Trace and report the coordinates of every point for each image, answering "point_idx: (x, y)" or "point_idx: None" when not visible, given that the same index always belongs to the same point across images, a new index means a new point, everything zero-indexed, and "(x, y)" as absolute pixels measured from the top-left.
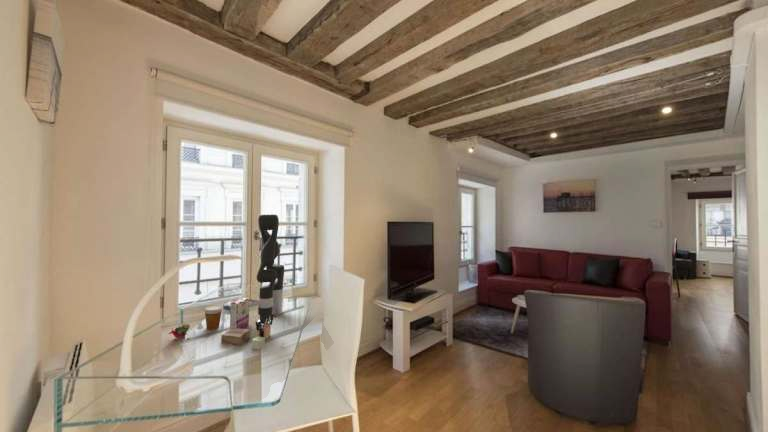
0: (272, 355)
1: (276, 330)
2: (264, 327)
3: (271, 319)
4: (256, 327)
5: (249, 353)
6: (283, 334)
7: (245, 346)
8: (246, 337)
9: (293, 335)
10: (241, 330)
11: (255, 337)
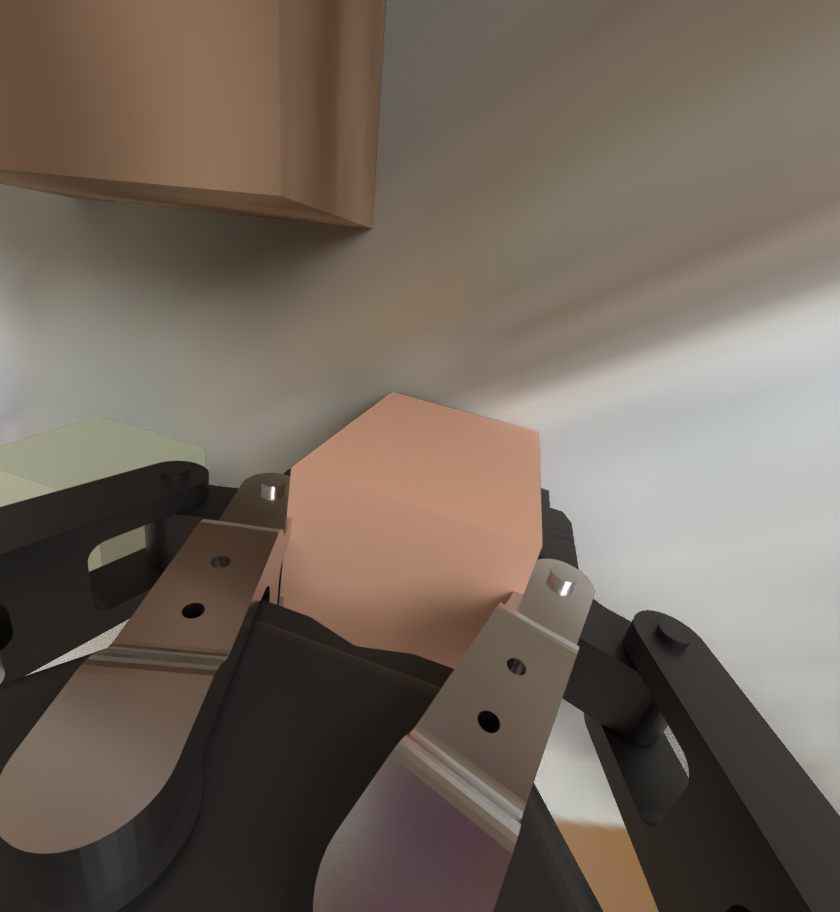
0: (82, 652)
1: (764, 604)
2: (313, 611)
3: (655, 878)
4: (51, 499)
5: (8, 442)
6: (576, 709)
7: (103, 313)
8: (225, 207)
9: (548, 807)
10: None
11: (47, 487)
